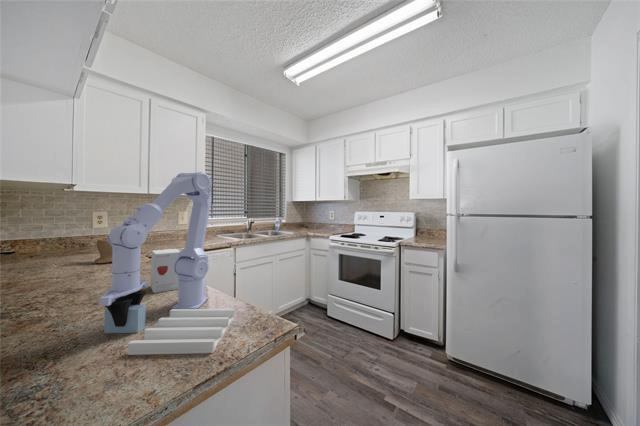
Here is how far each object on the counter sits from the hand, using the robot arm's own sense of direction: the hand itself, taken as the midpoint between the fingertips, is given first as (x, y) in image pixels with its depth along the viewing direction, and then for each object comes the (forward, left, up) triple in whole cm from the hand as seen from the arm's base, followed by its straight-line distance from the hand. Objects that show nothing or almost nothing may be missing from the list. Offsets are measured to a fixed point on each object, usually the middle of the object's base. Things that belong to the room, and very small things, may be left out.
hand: (125, 322), depth 63 cm
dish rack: (+2, +17, -2) cm, 17 cm away
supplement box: (-34, -8, -2) cm, 35 cm away
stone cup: (-80, -61, -2) cm, 101 cm away
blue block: (0, 0, -2) cm, 2 cm away
